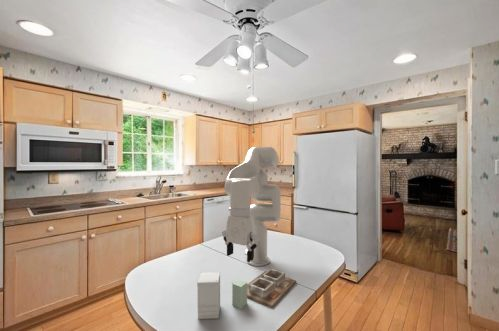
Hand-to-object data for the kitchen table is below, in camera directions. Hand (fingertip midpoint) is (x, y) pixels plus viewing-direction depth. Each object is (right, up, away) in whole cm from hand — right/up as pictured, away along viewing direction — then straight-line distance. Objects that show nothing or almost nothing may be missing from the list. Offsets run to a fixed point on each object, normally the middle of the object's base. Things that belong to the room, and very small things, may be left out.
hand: (239, 257), depth 84 cm
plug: (0, -18, 0) cm, 18 cm away
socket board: (+12, -18, +11) cm, 24 cm away
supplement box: (-11, -18, -5) cm, 21 cm away
